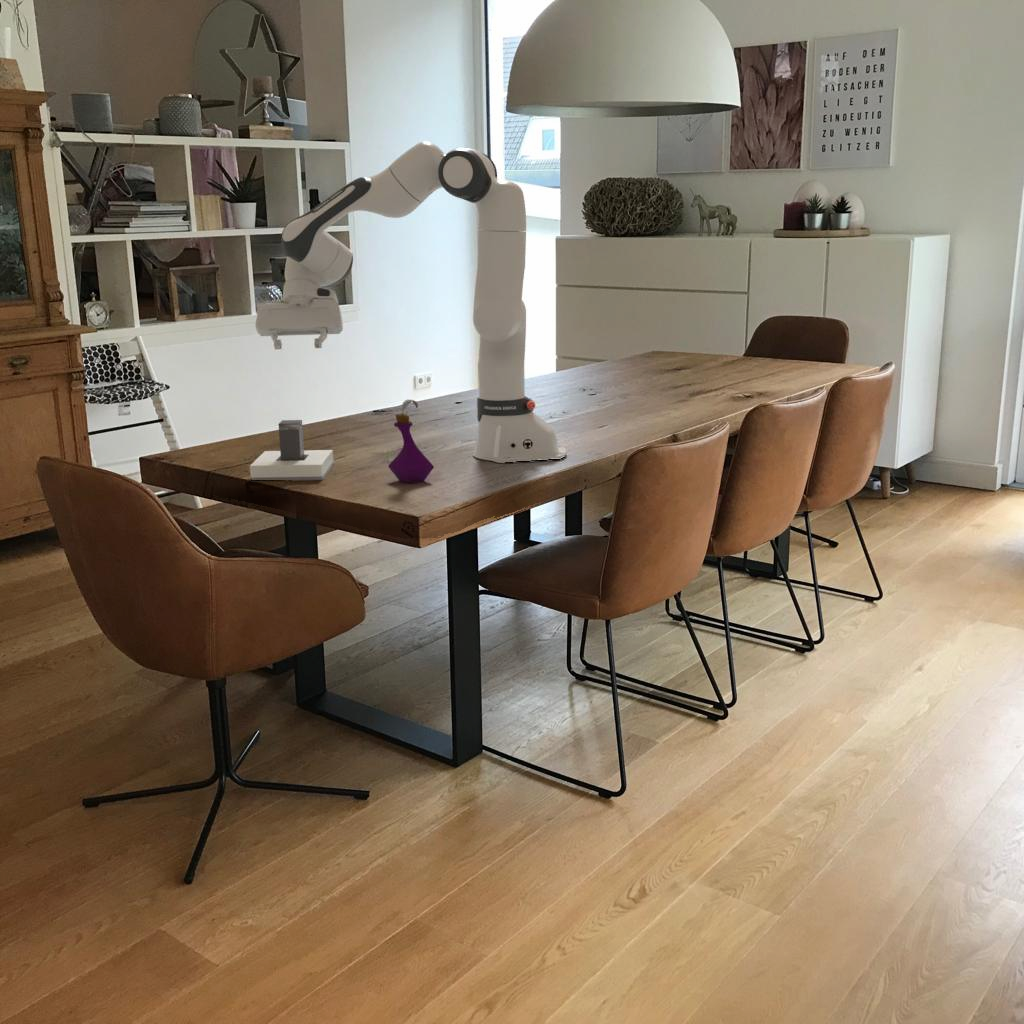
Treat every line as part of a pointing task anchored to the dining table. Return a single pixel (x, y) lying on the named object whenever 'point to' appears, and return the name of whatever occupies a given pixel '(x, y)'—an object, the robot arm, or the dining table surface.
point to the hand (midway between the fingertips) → (297, 347)
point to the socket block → (292, 466)
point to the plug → (291, 440)
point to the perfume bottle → (409, 453)
